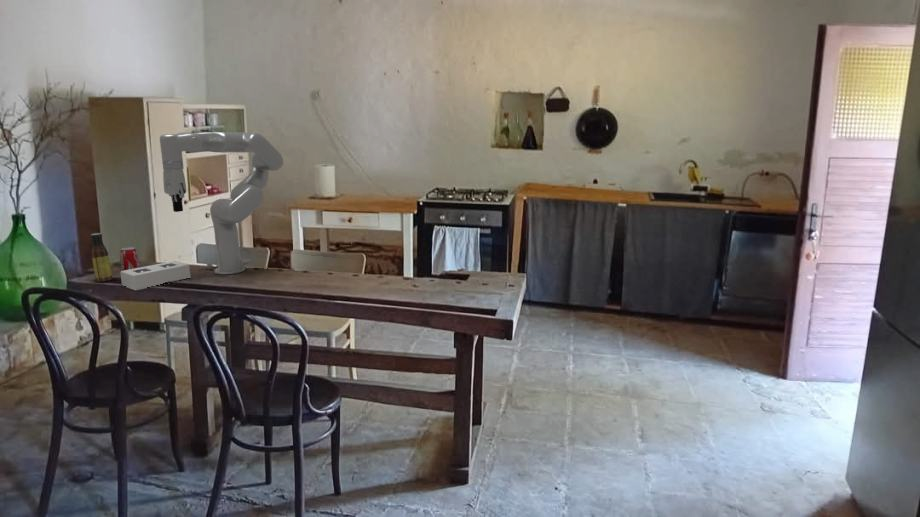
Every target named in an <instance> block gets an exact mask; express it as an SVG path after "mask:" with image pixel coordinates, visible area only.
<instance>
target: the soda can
mask: <svg viewBox="0 0 920 517" xmlns="http://www.w3.org/2000/svg"><path fill="white" fill-rule="evenodd" d="M119 260H120V266H121V271H124V270H130V269H135V268H140V267H141V265H140V258H139V251H138V250H137V248H136V247H135V246H126V247H121V248H120V252H119Z"/></svg>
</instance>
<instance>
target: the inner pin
mask: <svg viewBox="0 0 920 517" xmlns="http://www.w3.org/2000/svg"><path fill="white" fill-rule="evenodd" d="M171 266H175V265H174V264H166V265H163V266H162V267H164V268H166V267H171Z"/></svg>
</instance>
